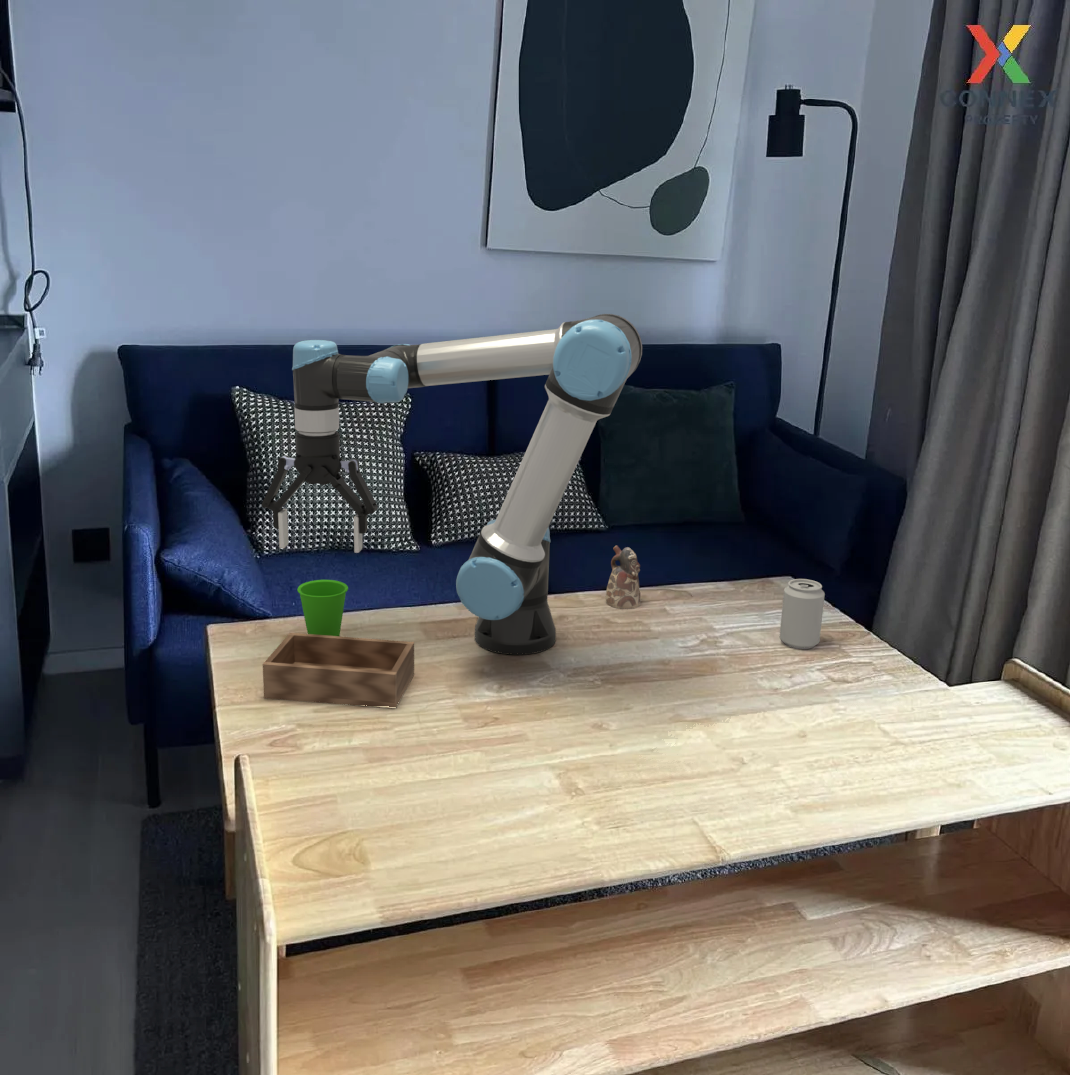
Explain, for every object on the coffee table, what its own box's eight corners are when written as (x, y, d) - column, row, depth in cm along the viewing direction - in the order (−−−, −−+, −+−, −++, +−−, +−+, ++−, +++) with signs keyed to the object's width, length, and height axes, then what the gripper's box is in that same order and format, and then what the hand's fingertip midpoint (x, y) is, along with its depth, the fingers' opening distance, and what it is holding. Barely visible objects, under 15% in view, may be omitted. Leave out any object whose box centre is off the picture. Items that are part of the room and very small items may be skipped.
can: (822, 640, 225) (829, 580, 222) (814, 653, 219) (821, 592, 215) (784, 632, 228) (789, 574, 225) (774, 645, 222) (780, 585, 218)
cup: (338, 656, 211) (337, 598, 208) (291, 650, 213) (289, 593, 209) (356, 638, 219) (355, 582, 216) (310, 632, 221) (308, 577, 218)
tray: (414, 674, 204) (414, 641, 203) (395, 708, 191) (395, 674, 189) (291, 664, 207) (289, 632, 205) (263, 697, 193) (262, 664, 192)
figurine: (629, 611, 237) (633, 554, 233) (599, 604, 241) (601, 548, 237) (646, 601, 243) (649, 546, 239) (616, 594, 246) (619, 539, 243)
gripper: (393, 430, 206) (394, 545, 213) (254, 423, 209) (260, 538, 215) (382, 439, 199) (384, 558, 205) (239, 432, 202) (246, 550, 208)
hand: (321, 548), depth 210 cm, fingers open, 13 cm apart
